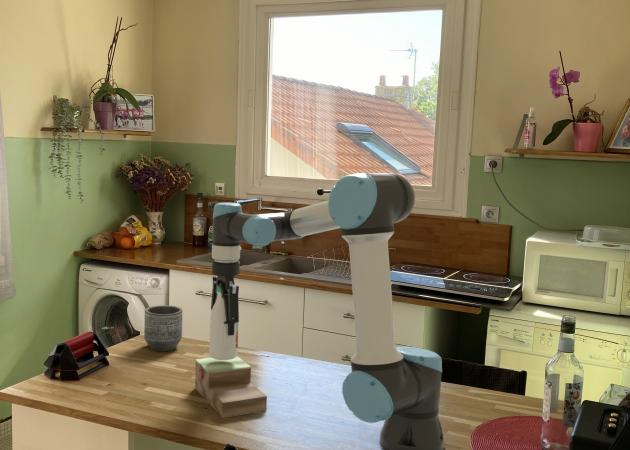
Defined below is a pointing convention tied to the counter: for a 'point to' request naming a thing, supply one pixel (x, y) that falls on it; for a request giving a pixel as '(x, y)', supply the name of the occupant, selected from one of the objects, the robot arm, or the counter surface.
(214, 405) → the plinth
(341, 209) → the robot arm
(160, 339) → the planter
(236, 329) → the milk bottle
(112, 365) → the counter surface
